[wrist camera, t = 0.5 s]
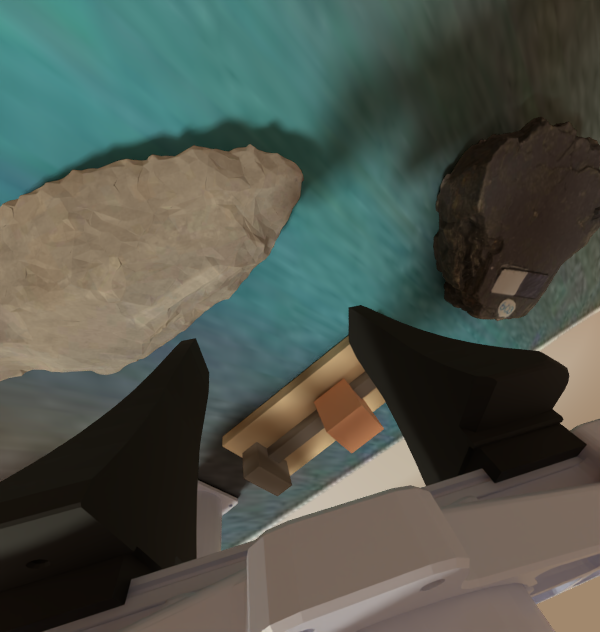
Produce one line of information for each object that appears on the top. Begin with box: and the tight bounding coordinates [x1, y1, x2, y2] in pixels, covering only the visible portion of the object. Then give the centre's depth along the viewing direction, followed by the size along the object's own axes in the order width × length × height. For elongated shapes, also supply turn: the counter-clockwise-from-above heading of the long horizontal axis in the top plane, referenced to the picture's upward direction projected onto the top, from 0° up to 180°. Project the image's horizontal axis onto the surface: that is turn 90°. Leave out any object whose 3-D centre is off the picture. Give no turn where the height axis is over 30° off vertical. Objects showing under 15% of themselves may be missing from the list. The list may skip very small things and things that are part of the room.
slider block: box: [314, 378, 384, 453], centre depth 25 cm, size 4×5×4 cm
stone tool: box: [0, 144, 304, 381], centre depth 16 cm, size 12×5×25 cm
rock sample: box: [433, 117, 600, 321], centre depth 23 cm, size 18×16×5 cm
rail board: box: [222, 336, 385, 496], centre depth 26 cm, size 20×10×4 cm, turn 127°
